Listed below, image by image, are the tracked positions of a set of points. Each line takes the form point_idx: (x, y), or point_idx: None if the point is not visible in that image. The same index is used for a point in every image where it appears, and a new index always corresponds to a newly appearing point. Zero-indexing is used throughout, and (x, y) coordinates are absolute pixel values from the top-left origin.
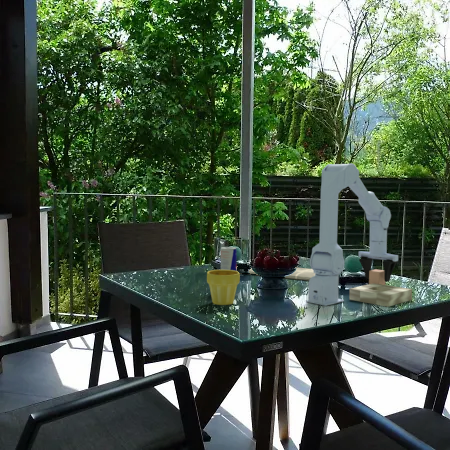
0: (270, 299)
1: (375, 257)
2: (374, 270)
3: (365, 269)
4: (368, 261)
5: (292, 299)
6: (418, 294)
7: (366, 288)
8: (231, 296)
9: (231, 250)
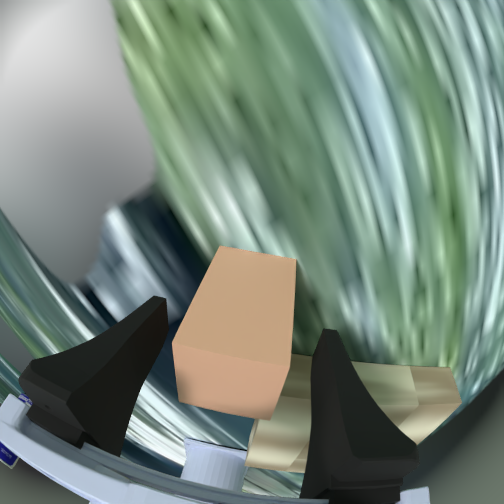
0: (129, 449)
1: (175, 493)
2: (200, 386)
3: (138, 387)
4: (106, 419)
5: (151, 448)
6: (483, 253)
7: (290, 456)
8: (127, 478)
9: (12, 466)
